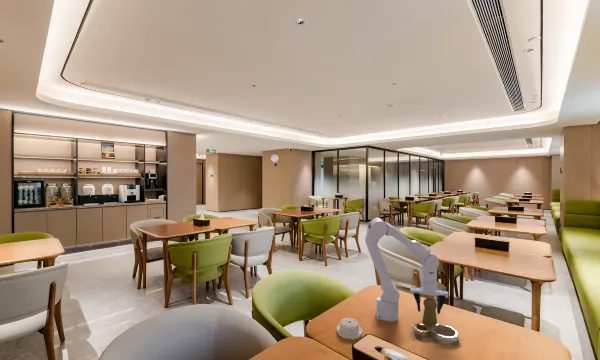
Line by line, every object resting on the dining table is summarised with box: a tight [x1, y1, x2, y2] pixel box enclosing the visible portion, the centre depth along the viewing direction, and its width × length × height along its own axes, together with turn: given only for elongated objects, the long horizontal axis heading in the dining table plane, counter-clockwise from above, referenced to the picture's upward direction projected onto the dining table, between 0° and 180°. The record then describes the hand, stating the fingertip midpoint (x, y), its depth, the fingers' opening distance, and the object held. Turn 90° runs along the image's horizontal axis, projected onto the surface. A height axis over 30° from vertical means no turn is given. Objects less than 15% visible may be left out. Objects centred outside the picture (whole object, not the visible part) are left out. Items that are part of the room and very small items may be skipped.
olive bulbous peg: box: [421, 297, 438, 328], centre depth 119 cm, size 6×6×11 cm
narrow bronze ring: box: [413, 323, 431, 338], centre depth 112 cm, size 6×6×2 cm
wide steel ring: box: [430, 323, 459, 346], centre depth 110 cm, size 9×9×2 cm
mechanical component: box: [336, 317, 363, 340], centre depth 115 cm, size 10×4×10 cm
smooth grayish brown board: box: [408, 325, 462, 347], centre depth 111 cm, size 17×9×1 cm, turn 76°
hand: (428, 311), depth 122 cm, fingers open, 7 cm apart
